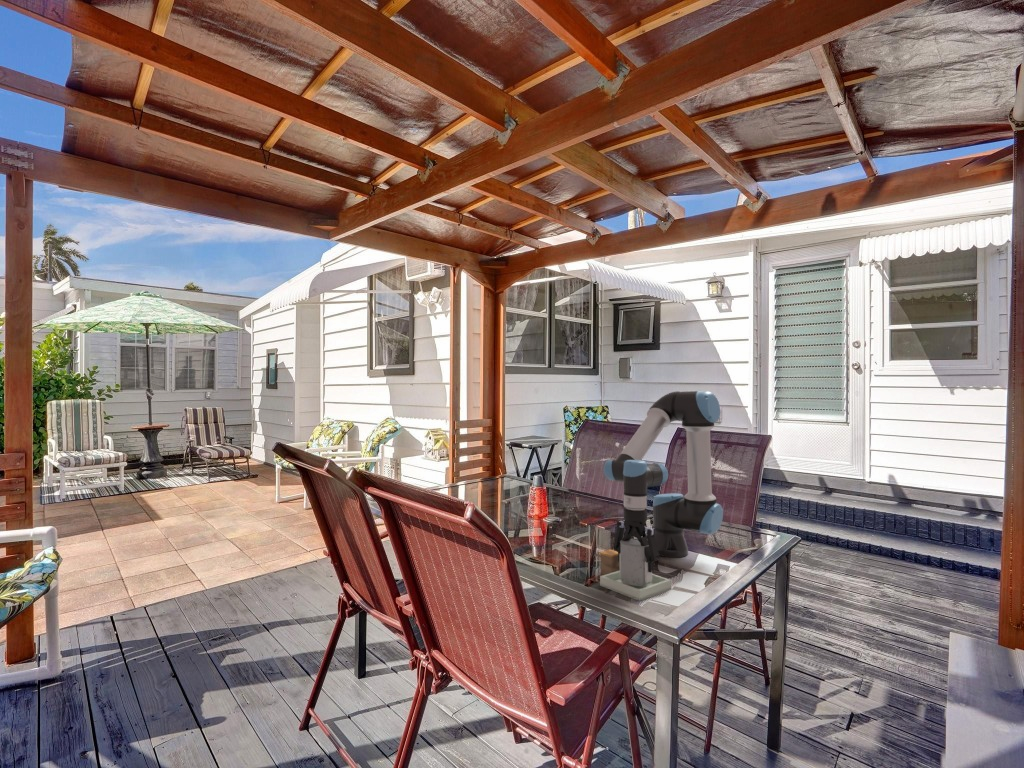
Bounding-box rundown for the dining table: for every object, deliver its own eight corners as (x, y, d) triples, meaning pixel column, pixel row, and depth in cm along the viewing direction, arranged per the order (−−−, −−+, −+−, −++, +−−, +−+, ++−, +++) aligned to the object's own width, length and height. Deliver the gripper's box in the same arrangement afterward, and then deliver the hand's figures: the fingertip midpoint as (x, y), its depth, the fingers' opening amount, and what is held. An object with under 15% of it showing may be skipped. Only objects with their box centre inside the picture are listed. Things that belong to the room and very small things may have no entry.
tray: (631, 575, 174) (631, 566, 174) (671, 589, 161) (671, 580, 161) (600, 585, 164) (600, 576, 164) (639, 601, 151) (639, 591, 151)
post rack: (642, 561, 189) (642, 541, 189) (653, 565, 185) (653, 544, 185) (600, 573, 175) (600, 552, 175) (611, 578, 171) (611, 555, 171)
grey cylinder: (645, 575, 167) (645, 538, 168) (654, 585, 158) (654, 546, 158) (617, 575, 167) (617, 538, 167) (624, 586, 157) (624, 546, 158)
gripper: (601, 503, 170) (602, 570, 169) (656, 515, 152) (656, 590, 151) (616, 501, 174) (616, 565, 174) (671, 512, 157) (671, 584, 156)
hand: (635, 577), depth 162 cm, fingers closed on grey cylinder, 9 cm apart
